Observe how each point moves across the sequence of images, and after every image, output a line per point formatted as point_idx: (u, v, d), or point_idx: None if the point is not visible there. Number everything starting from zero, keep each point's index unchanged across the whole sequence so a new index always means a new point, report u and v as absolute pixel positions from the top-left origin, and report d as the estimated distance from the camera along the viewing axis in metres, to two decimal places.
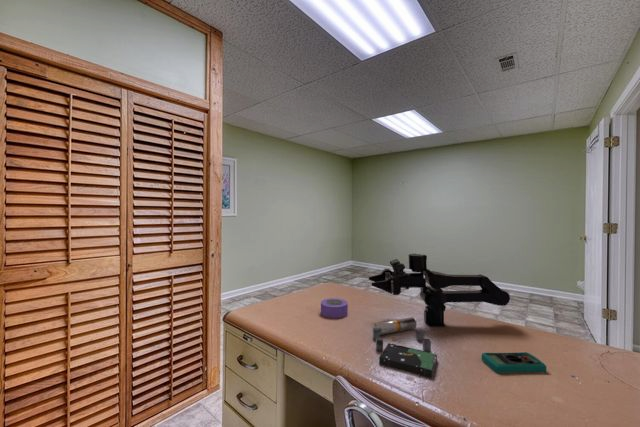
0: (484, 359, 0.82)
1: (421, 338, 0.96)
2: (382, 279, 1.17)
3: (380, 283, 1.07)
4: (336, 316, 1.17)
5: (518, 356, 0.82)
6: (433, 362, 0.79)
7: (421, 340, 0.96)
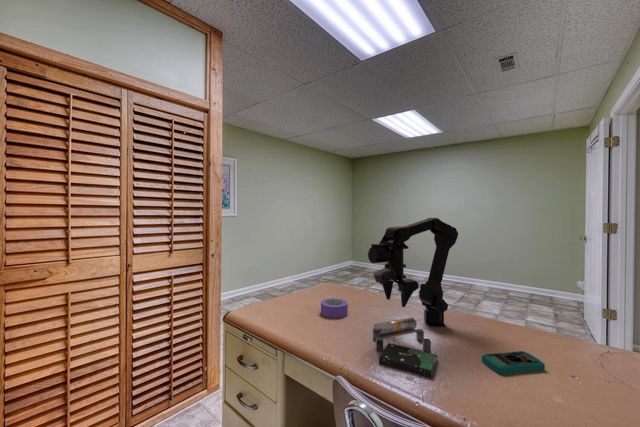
0: (485, 360, 0.81)
1: (421, 338, 0.96)
2: (389, 284, 1.09)
3: (404, 298, 0.99)
4: (336, 316, 1.17)
5: (516, 355, 0.82)
6: (433, 362, 0.79)
7: (421, 340, 0.96)
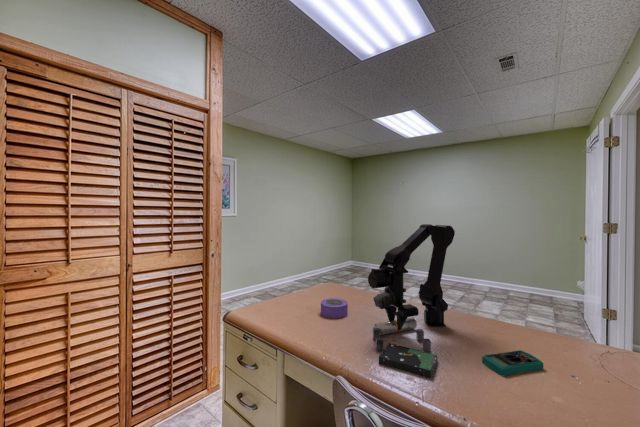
0: (486, 362, 0.81)
1: (421, 338, 0.96)
2: (392, 309, 1.07)
3: (400, 322, 1.01)
4: (336, 316, 1.17)
5: (515, 355, 0.83)
6: (433, 363, 0.78)
7: (421, 340, 0.96)
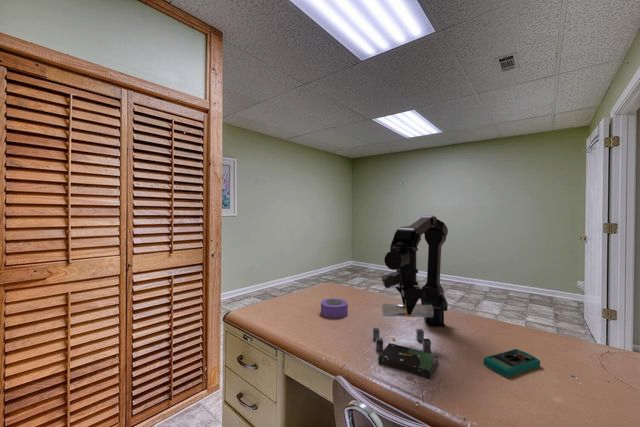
0: (488, 363, 0.80)
1: (421, 338, 0.96)
2: None
3: (408, 305, 0.90)
4: (336, 316, 1.17)
5: (513, 354, 0.83)
6: (432, 363, 0.78)
7: (421, 340, 0.96)
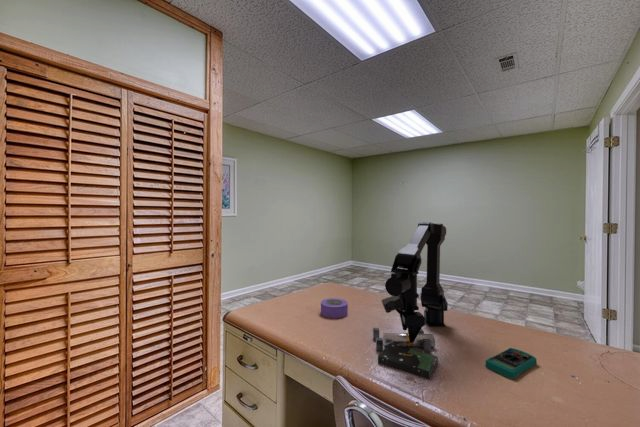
0: (491, 366, 0.79)
1: None
2: None
3: (411, 333, 0.88)
4: (336, 316, 1.17)
5: (511, 354, 0.83)
6: (432, 364, 0.78)
7: None
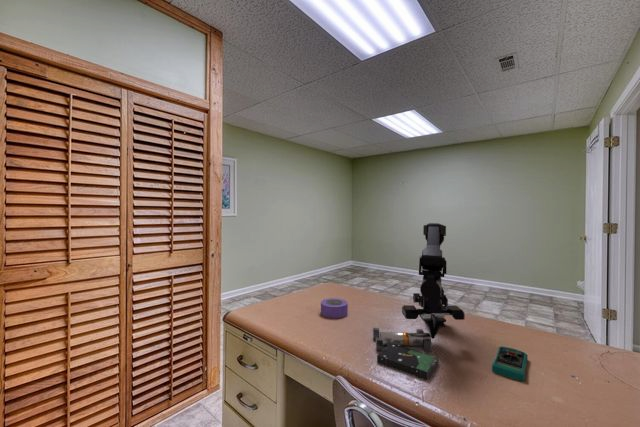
0: (499, 370, 0.76)
1: None
2: (434, 321, 0.92)
3: (428, 327, 0.93)
4: (336, 316, 1.17)
5: (506, 353, 0.84)
6: (431, 364, 0.78)
7: None
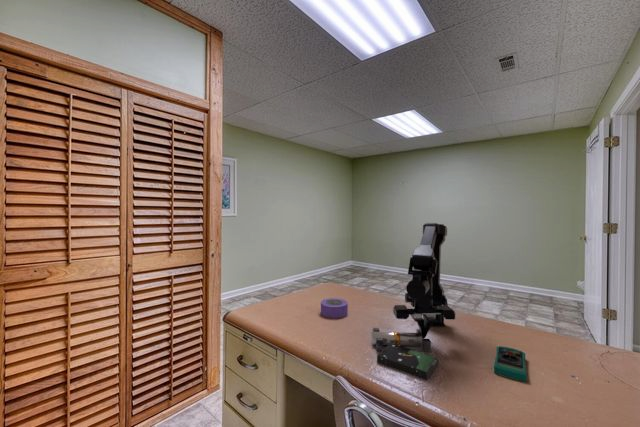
0: (501, 371, 0.76)
1: None
2: (425, 321, 0.93)
3: (419, 327, 0.94)
4: (336, 316, 1.17)
5: (505, 353, 0.84)
6: (431, 365, 0.78)
7: None
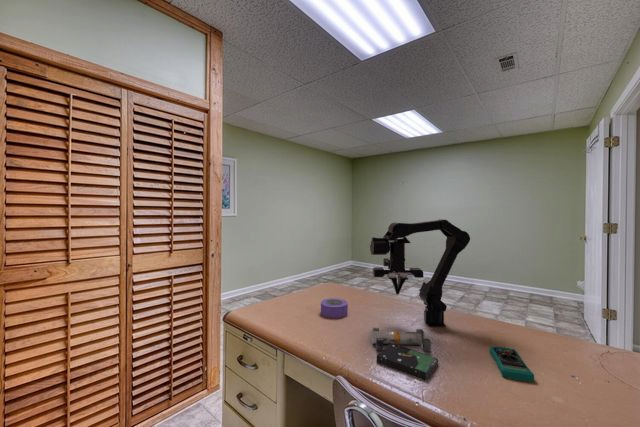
0: (510, 374, 0.74)
1: None
2: (399, 280, 1.10)
3: (393, 285, 1.11)
4: (336, 316, 1.17)
5: (502, 353, 0.84)
6: (430, 365, 0.77)
7: None
